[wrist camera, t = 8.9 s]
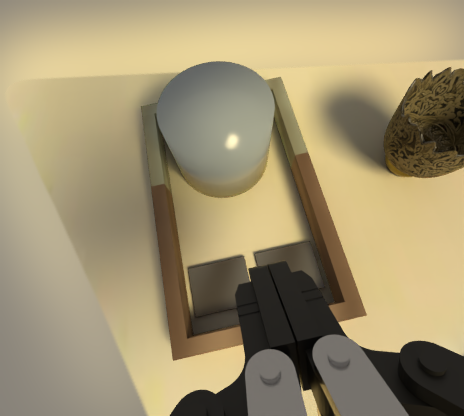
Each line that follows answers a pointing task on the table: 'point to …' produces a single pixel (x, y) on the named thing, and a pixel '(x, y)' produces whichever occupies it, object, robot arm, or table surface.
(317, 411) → the robot arm
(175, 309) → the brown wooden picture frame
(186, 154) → the slate stoneware canister
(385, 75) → the table surface
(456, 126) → the cup
